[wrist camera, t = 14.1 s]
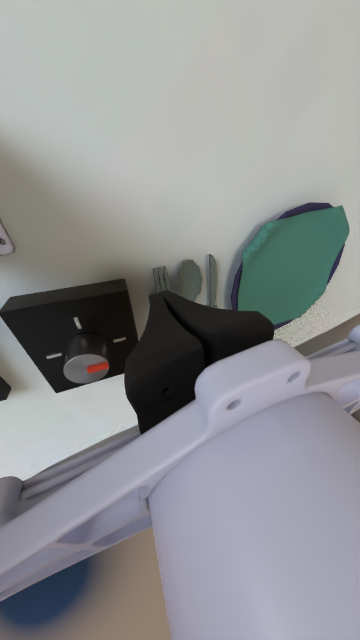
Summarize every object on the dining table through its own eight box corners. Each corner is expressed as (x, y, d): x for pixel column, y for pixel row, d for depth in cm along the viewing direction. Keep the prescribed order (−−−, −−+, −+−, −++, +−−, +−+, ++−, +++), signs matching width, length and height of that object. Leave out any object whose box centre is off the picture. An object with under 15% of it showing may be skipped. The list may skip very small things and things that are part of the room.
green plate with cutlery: (309, 308, 38) (319, 314, 36) (169, 359, 31) (174, 370, 29) (354, 189, 25) (373, 189, 24) (141, 233, 19) (146, 237, 17)
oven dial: (75, 364, 21) (72, 390, 19) (61, 338, 19) (55, 364, 16) (111, 354, 22) (113, 378, 20) (102, 328, 20) (103, 351, 17)
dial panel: (9, 296, 18) (-4, 313, 16) (124, 278, 21) (128, 290, 19) (59, 375, 25) (55, 394, 23) (140, 353, 28) (144, 368, 26)
